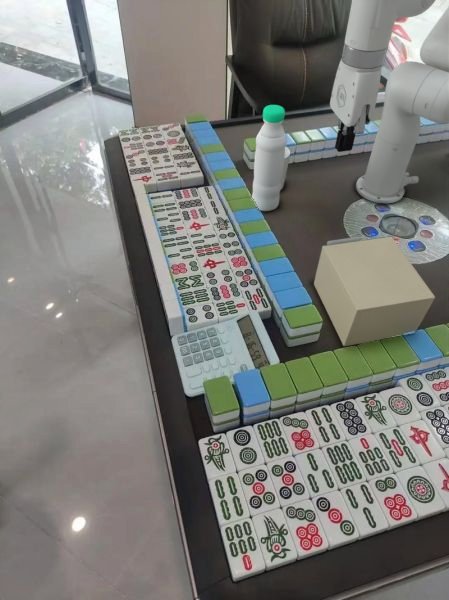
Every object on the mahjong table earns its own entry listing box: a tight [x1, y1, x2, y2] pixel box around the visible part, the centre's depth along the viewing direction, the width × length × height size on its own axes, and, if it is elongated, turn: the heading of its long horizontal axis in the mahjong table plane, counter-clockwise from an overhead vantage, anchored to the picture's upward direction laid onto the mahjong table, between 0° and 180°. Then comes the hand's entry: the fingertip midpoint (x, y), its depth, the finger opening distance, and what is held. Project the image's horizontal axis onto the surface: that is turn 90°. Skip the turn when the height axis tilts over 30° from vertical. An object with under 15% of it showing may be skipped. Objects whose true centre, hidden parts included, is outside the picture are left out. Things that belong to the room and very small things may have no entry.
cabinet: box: [313, 236, 436, 347], centre depth 84 cm, size 17×15×11 cm
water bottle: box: [251, 104, 288, 212], centre depth 102 cm, size 7×7×25 cm
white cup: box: [280, 145, 291, 191], centre depth 113 cm, size 8×8×10 cm
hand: (343, 149), depth 90 cm, fingers closed
